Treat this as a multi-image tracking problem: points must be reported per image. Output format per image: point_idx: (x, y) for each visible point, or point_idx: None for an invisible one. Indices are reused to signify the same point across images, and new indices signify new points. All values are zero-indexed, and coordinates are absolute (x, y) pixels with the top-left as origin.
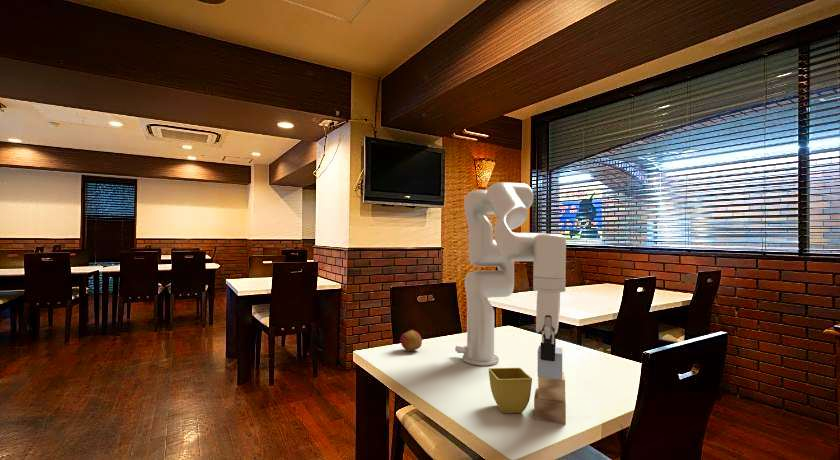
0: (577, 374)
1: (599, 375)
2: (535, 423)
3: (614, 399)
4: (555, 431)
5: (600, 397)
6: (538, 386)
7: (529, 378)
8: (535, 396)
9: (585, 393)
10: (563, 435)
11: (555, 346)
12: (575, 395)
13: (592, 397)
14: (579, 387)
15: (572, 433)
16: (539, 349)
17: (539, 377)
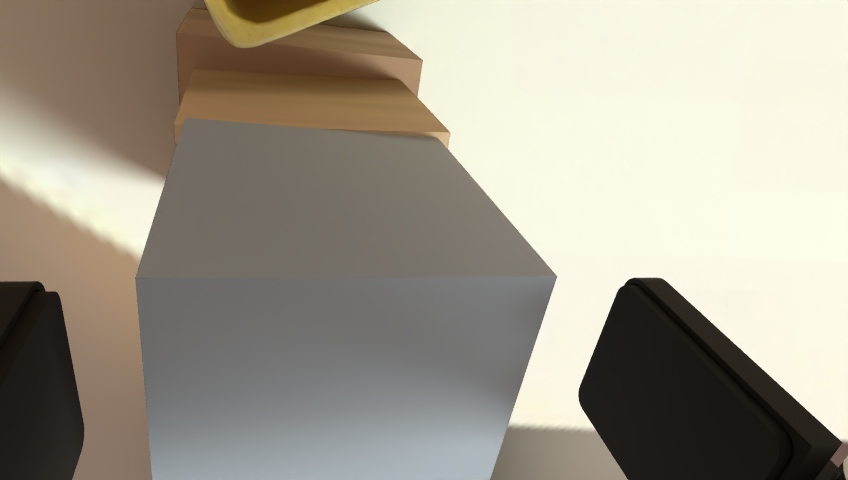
0: (825, 268)
1: (795, 345)
2: (125, 12)
3: (551, 387)
4: (63, 134)
5: (567, 344)
6: (185, 98)
7: (222, 16)
8: (231, 47)
9: (609, 292)
10: (29, 175)
11: (598, 429)
12: (584, 252)
13: (565, 317)
14: (678, 271)
15: (87, 221)
16: (299, 299)
17: (177, 137)
